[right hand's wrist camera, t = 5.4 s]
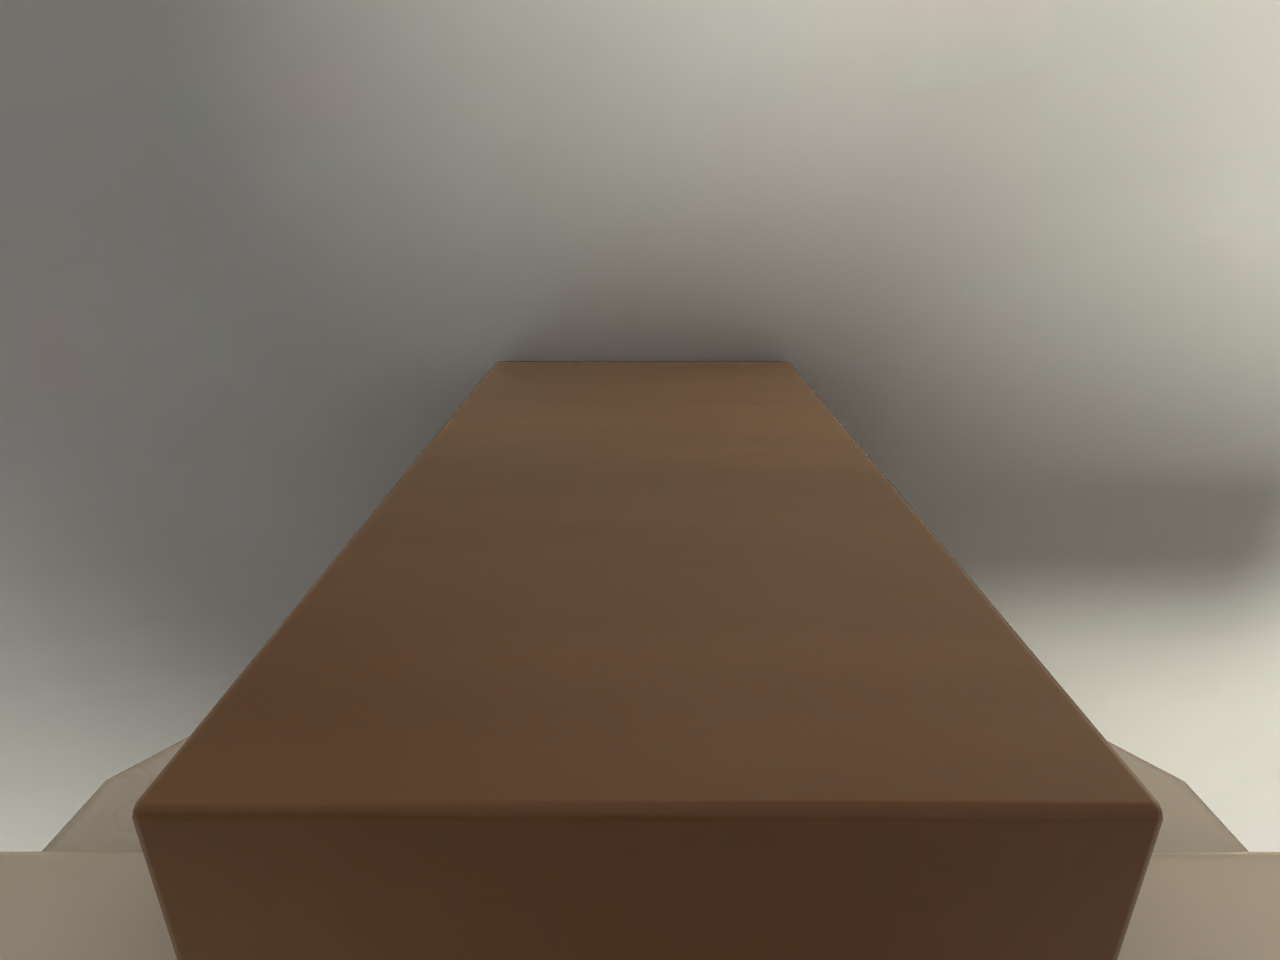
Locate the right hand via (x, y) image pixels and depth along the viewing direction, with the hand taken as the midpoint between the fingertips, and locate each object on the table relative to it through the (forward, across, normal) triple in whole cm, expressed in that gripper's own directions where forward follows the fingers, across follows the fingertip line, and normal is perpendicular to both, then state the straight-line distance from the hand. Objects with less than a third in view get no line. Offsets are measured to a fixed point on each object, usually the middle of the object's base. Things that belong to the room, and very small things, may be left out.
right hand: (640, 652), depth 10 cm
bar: (+3, 0, +9) cm, 9 cm away
